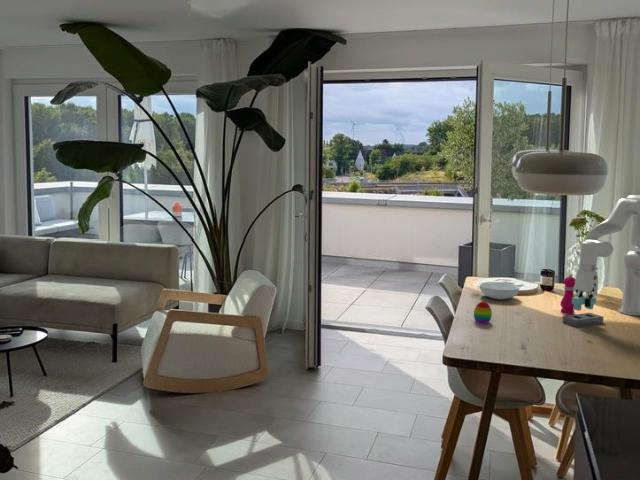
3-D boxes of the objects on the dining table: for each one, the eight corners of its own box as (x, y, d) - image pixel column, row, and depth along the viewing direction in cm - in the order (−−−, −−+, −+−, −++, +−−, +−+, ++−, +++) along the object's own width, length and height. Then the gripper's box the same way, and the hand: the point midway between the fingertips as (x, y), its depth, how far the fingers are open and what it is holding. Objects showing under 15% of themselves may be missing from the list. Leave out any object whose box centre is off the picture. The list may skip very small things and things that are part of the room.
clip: (589, 307, 316) (590, 295, 315) (595, 309, 313) (596, 297, 312) (571, 309, 311) (572, 297, 310) (577, 310, 308) (578, 299, 307)
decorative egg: (491, 320, 313) (492, 300, 311) (491, 325, 305) (492, 304, 304) (473, 319, 315) (474, 298, 314) (473, 323, 307) (474, 302, 306)
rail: (589, 318, 321) (589, 312, 320) (602, 322, 314) (603, 316, 313) (562, 322, 313) (563, 316, 312) (575, 326, 306) (576, 320, 305)
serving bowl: (525, 298, 360) (526, 286, 359) (506, 304, 345) (507, 291, 344) (491, 291, 374) (491, 279, 373) (471, 297, 359) (472, 285, 358)
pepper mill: (576, 315, 326) (579, 275, 323) (560, 314, 328) (564, 274, 325) (573, 311, 333) (577, 273, 330) (558, 310, 335) (561, 272, 332)
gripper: (607, 270, 304) (603, 309, 306) (579, 264, 318) (575, 301, 321) (596, 271, 300) (592, 310, 303) (568, 264, 315) (564, 302, 317)
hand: (583, 305), depth 312 cm, fingers closed on clip, 3 cm apart
